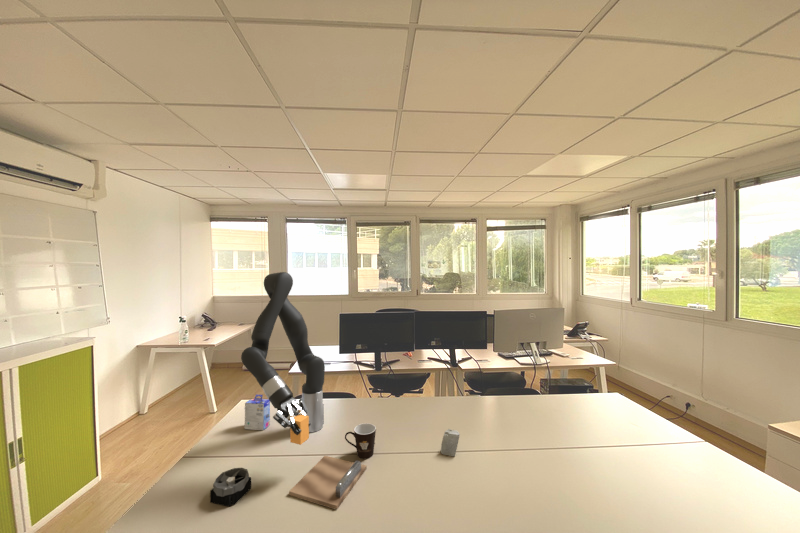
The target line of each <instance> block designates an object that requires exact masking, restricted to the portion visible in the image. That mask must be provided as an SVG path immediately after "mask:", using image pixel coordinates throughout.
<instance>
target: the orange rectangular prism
mask: <svg viewBox="0 0 800 533" xmlns="http://www.w3.org/2000/svg"><path fill="white" fill-rule="evenodd" d="M293 418H294V421H295V422H296V424H297V425H298V426H299V428H300V429H301V432H300V433H299V434H298V435H296V434H295V433H294V432H293V431H292V429H291V428H290V427H289V428H290V431H289V432H290V437H289V438H290V443H292V444H295V445H300V446H301V445H303V443H305V442H306V441H307V440H309V438H310V432H309V416H306V415H301V414H300V413H299V414H298V415H297V416H293Z"/></svg>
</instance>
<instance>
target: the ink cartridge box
mask: <svg viewBox="0 0 800 533" xmlns="http://www.w3.org/2000/svg"><path fill="white" fill-rule="evenodd" d="M270 415H271V402H270V401H269V399H268V398H267V399H266V398H263V394H255V397H254V398H251V399H249V400H248V401H246V402H245V403H244V430H254V431H255V430H256V431H257V430H258V431H264V430H265V429H267V428H268V427H270V425H271V423H270V422H271V421H270V420H271V418H270V417H271V416H270Z"/></svg>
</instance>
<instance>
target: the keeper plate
mask: <svg viewBox="0 0 800 533" xmlns="http://www.w3.org/2000/svg"><path fill="white" fill-rule="evenodd" d="M367 466H368V465H366V464H362V462H361V461H360V460H355V461H354V462H353V461H349V460H345V459H341V458H337V457H333V456H328V455H324V456H323V457H322V458H321V459H320V460H319V461H318V462H317V463H316V464H315V465H314V466H313V467H312V468H311V469H310V470H309V471H308V472H307V473H305V474H304V476H303V477H302V478H301V479H300V480H299V481H298V482H297V483H296V484H295V485H294V486H293V487H292V488H291V489H290V490H289V491H288V495H289V496H291V497H294V498H298V499H301V500H305V501H307V502H309V503H314V504H317V505H320V506H324V507H327V508H329V509H330V508H331V509H334V510H338V509H339V508H340V506H341V505H342V504H343V502H344V501H345V499H346V498H347V497H348V495H349V494H350V492H351V491H352V490H353V489H354V487H355V485H356V484H357V483H358V482H359V480H360V479H361V477H362V476H363V475H364V473H365V472H366V470H367Z"/></svg>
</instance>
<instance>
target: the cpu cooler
mask: <svg viewBox="0 0 800 533" xmlns="http://www.w3.org/2000/svg"><path fill="white" fill-rule="evenodd" d="M212 485H213V486H212V487H213V488H211V489H210V491H209V492H210V493H209V494H210V496H209V497H210V499H209V500H210V503H211V504H216V505H219V506H220V505H221V506H224V507H231V506H235V505H236V504H237V503H238V502H239V501H240V500H241V499H242V498H244V496H246V494H248V493H249V492H250V490H252V477H250V474H249V470H248V469H247V468H245V467H233V468H232V469H228V470H225V471H223V472H221V473H220V474H219V475H218V476H217V477H216V478H215V480H214V481H213V484H212Z"/></svg>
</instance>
